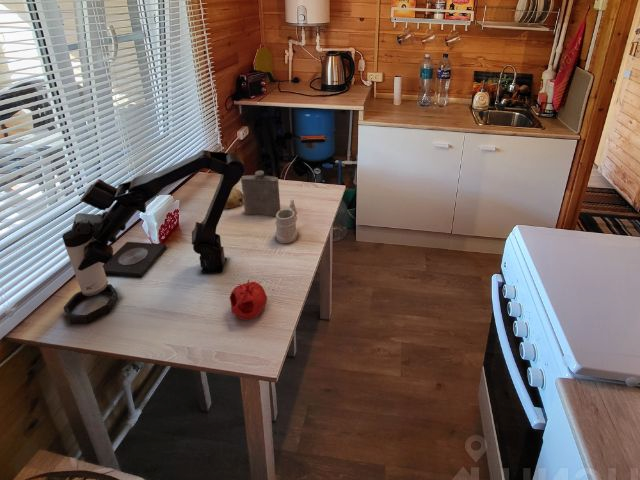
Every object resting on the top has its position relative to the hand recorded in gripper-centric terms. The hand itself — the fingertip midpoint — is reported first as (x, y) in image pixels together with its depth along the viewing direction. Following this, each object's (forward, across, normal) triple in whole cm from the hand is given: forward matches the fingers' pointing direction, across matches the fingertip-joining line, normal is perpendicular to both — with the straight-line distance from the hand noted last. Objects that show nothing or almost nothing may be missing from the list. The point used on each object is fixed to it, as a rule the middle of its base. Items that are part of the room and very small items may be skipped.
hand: (80, 262), depth 104 cm
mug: (-32, -2, +52) cm, 61 cm away
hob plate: (+2, -13, +17) cm, 21 cm away
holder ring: (+9, +3, +9) cm, 14 cm away
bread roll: (-22, -34, +42) cm, 58 cm away
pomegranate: (-17, +25, +37) cm, 48 cm away
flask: (-29, -20, +49) cm, 60 cm away
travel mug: (+6, 0, +8) cm, 10 cm away
